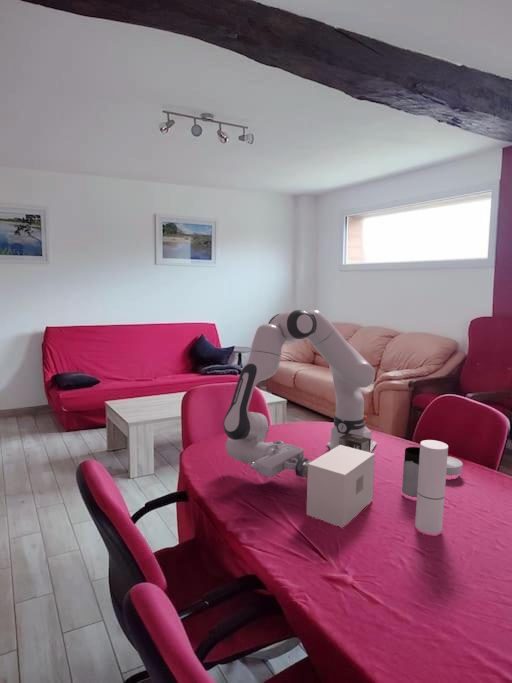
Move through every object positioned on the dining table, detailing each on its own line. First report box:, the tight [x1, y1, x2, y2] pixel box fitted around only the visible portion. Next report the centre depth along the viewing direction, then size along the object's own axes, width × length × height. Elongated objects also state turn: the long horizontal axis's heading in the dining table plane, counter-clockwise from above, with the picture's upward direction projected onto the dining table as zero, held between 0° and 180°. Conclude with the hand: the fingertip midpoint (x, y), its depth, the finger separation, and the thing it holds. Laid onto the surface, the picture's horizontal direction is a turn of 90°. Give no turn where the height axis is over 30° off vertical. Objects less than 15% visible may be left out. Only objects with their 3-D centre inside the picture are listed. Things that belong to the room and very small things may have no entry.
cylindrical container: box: [414, 439, 449, 534], centre depth 129 cm, size 7×7×25 cm
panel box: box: [306, 445, 376, 528], centre depth 140 cm, size 20×12×16 cm, turn 142°
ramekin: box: [446, 456, 464, 476], centre depth 166 cm, size 11×11×5 cm
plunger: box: [294, 457, 313, 479], centre depth 145 cm, size 6×15×6 cm, turn 52°
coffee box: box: [339, 433, 372, 452], centre depth 158 cm, size 9×6×16 cm
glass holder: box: [401, 446, 420, 497], centre depth 152 cm, size 9×14×15 cm, turn 137°
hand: (300, 466), depth 149 cm, fingers closed, pressing on plunger
